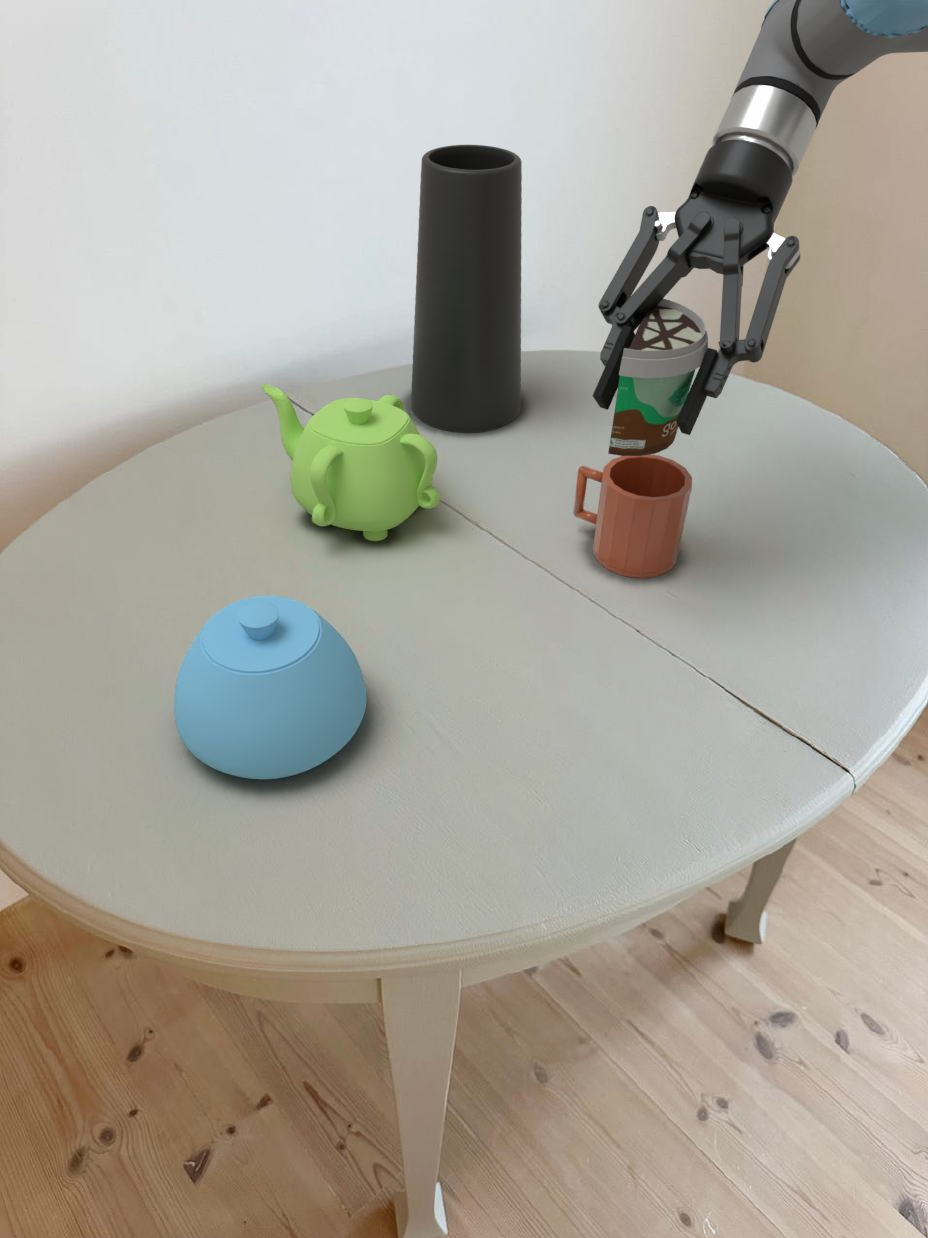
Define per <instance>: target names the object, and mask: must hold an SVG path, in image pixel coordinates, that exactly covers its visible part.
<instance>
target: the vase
mask: <svg viewBox="0 0 928 1238" xmlns="http://www.w3.org/2000/svg"><path fill="white" fill-rule="evenodd" d="M522 164H523V163H522V159H521V157H520V155H518V154H517V153H515V152H513V151H511V150H509V149H505V148H501V147H497V146H493V145H492V146H491V145H483V144H454V145H452V144H451V145H446V146H440V147H436V148H433V149H431V150H429V151H427V152H425V153H424V154H423V156H422V157H421V166H420V167H421V168H420V185H419V207H418V231H417V251H416V252H417V253H416V276H415V295H414V297H415V299H414V300H415V301H414V302H415V303H414V304H415V305H414V318H413V319H414V322H413V323H414V325H413V346H412V364H411V365H412V366H411V367H412V369H411V371H412V372H411V373H412V374H411V395H410V405H411V410H412V413H413V415H414V416H415V417H416V418H417V419H418V420H420V421H421V422H423V423H424V424H426V425H428V426H431V427H433V428H436V429H439V430H443V431H447V432H454V433H481V432H488V431H492V430H497V429H499V428H502V427H504V426H507V425H508V424H510V423H512V422H513V421H514V420H515V419H516V418H517V417H518V416H519V414H520V412H521V401H522V399H521V398H522V397H521V394H522V393H521V392H522V388H521V387H522V382H521V381H522V226H523V224H522V222H523V221H522V213H523V211H522V210H523V209H522V202H523V201H522V200H523V199H522V192H523V191H522V190H523V188H522V183H523V182H522V181H523V180H522V179H523V175H522V171H523V170H522V167H523V166H522Z"/></svg>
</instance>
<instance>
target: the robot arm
mask: <svg viewBox="0 0 928 1238" xmlns="http://www.w3.org/2000/svg"><path fill="white" fill-rule="evenodd" d="M903 53H905V54H906V53H928V0H773V2H772V3H771V4H770V6H769V7H768V8H767V11H766V12H765V14H764V17H763V21H762V23H761V25H760V30H759V32H758V35H757V36H756V40H755V42H754V45H753V47H752V49H751V51H750V54H749V56H748V58H747V61H746V63H745V65H744V68H743V70H742V73H741V75H740V77H739V80H738V82H737V84H736V86H735V88H734V92H733V93H732V96H731V98H730V100H729V103H728V105H727V107H726V108H725V111H724V113H723V116H722V118H721V120H720V122H719V125H718V126H717V129H716V131H715V133H714V135H713V138H712V140H711V147H710V148H709V149H708V151H707V153H706V154H705V156H704V158H703V161H702V163H701V165H700V167H699V170H698V172H697V175H696V177H695V179H694V182H693V183H692V186H691V189H690V192H689V195H688V197H687V199H686V200H685V201H684V202H683V203H682V204H681V205H680V206H679V207H678V208H677V209H676V211H658V209H657V208H656V206H654V205H649V206H646V207H645V208H644V210H643V211H642V215H641V221H640V225H639V231H638V233H637V234H636V236H635V238H634V240H633V241H632V243H631V245H630V247H629V249H628V251H627V252H626V254H625V256H624V258H623V260H622V261H621V263H620V265H619V267H618V269H617V270H616V272H615V274H614V276H613V277H612V279H611V280H610V282H609V284H608V286H607V288H606V289H605V292H604V293H603V295H602V296H601V298H600V300H599V303H598V309H599V312H600V313H601V315H602V317H603V319H604V321H605V322H606V323H607V324H609V325H611V328H610V330H609V333H608V335H607V337H606V340H605V342H604V344H603V347H602V348H601V351H600V354H599V355H600V357H599V359H600V361H601V363H602V365H603V366H604V368H603V371H602V373H601V375H600V378H599V380H598V382H597V385H596V387H595V389H594V391H593V394H592V398H593V399H594V401H595V402H596V404H597V405H598V407H599V408H601V409H604V410H609V409H610V407H611V405H612V402H613V400H614V397H615V396H616V394H617V391H618V384H619V378H620V375H619V371H620V366H621V360H622V357H623V351H624V348H627V349H629V348H630V346H631V343H632V341H633V339H634V337H635V334H636V330H637V329H638V327H639V325H640V324H641V322H642V320H643V319H644V317H645V315H646V313H647V312H649V311H651V310H653V309H654V308H655V307H656V306H657V305H658V304H659V303H660V301H661V300H662V299H665V297H666V296H667V295H668V294H669V293H670V292H671V290H672V289H673V288H674V287H675V286H676V285H677V283H679V281H681V280H682V278H686V277H687V276H688V275H689V274H690V273H691V272H692V271H693V270H694V269H698V270H710V271H713V272H714V273H716V274H719V275H722V290H721V291H722V294H721V310H720V313H721V314H720V328H719V329H720V330H719V341H718V346H719V350H717V349H714V348H711V347H708V350H707V352H706V354H705V356H704V359H703V361H702V363H701V366H700V367H699V368H698V370H697V372H696V375H695V376H694V378H693V381H692V383H691V386H690V390H689V393H688V395H687V398H686V400H685V402H684V404H683V407H682V409H681V411H680V414H679V416H678V418H677V420H676V423H677V425H678V430H680V433H681V434H684V435H688V436H691V435H692V432H693V430H694V428H695V425H696V422H697V420H698V418H699V416H700V413H701V411H702V409H703V407H704V404H705V402H706V400H707V397H710V398H713V399H717V398H718V397H719V396H720V395H721V394H722V393H723V390H724V387H725V385H726V382H727V380H728V378H729V377H730V374H731V372H732V369H733V367H734V366H735V365H736V364H737V363H739V362H745V361H747V362H750V363H758V362H759V361H761V359H762V358H763V355H764V352H765V348H766V345H767V342H768V339H769V335H770V332H771V329H772V326H773V323H774V319H775V317H776V313H777V311H778V306H779V304H780V300H781V297H782V293H783V291H784V287H785V284H786V281H787V278H788V277H789V276H790V275H791V273H792V271H793V270H794V269H795V267H796V266H797V265H798V263H799V262H800V260H801V250H800V249H801V248H800V240H799V238H798V237H797V236H795V235H788V236H787V237H784V236H782V235H780V234H777V233H775V229H774V227H775V223H776V221H777V219H778V216H779V215H780V212H781V210H782V207H783V205H784V203H785V201H786V198H787V196H788V194H789V190H790V189H791V187H792V184H793V177H794V176H795V175H796V174H797V172H798V170H799V168H800V165H801V163H802V161H803V159H804V157H805V155H806V152H807V150H808V147H809V146H810V143H811V141H812V140H813V139H812V138H813V137H814V134H815V132H816V130H817V127H818V125H819V122H820V120H821V118H822V115H823V113H824V111H825V110H826V107H827V105H828V103H829V100H830V98H831V96H832V94H833V92H834V91H835V89H836V88H837V87H838V85H840V84H841V83H843V82H844V81H846V80H848V79H849V78H851V77H853V76H854V75H856V74H857V73H859V72H860V71H861V70H863V69H865V68H867V66H869V65H871V64H872V63H873V62H875V61H877V60H878V59H879V58H881V57H883V56H887V55H890V54H903ZM674 229H676V233H677V236H678V238H677V239H676V240H675V241H674V242H673V244H672V245H671V246H670V247H669V249H668V250H667V254H666V255H665V257H664V258H663V259H662V260H661V262H660V263H659V264H658V265H657V266H656V267H655V268H654V269H653V270H652V271H651V273H650V274H649V275H648V276H647V278H646V279H644V281H643V282H642V283H641V284H640V286H639V282H640V281H641V279H642V277H643V276H644V274H645V272H646V271H647V269H648V267H649V265H650V263H651V262H652V260H653V258H654V256H655V254H656V253H657V250H658V247H659V245H660V242H664V241H665V240H666V239H667V236H668V235H669V233H670V232H671V231H672V230H674ZM766 250H768V252H767V261H768V265H767V268H766V271H765V275H764V278H763V281H762V284H761V287H760V291H759V294H758V297H757V301H756V303H755V306H754V310H753V312H752V316H751V320H750V323H749V325H748V328H747V329H748V330H747V332H746V335H745V338H743V339H740V330H741V329H740V328H741V309H742V290H743V289H742V288H743V285H744V270H745V269H744V267H745V265H746V264H747V263H749V262H750V261H752V260H753V259H755V258H756V257H757V256H758V255H760V254H761V253H764V251H766ZM637 286H639V287H638V288H637ZM636 288H637V289H636Z"/></svg>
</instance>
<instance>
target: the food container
mask: <svg viewBox="0 0 928 1238" xmlns="http://www.w3.org/2000/svg"><path fill="white" fill-rule="evenodd" d="M708 348H709V335H708V331H707V327H706V323H705V321H704V320H703V318H702V316H700V315H699V314H698V313H697V312H696V311H694V310H693V309H690V308H689V307H687V306H685V305H682V304H680V303H678V302H676V301H673V300H670V299H667V298H663V299H662V300H661V301H660V303H659V304H658V305H657V306H656V307H655V308H654V309H653V310H651V311H649V312H647V313H646V315H645V317H644V319H643V320H642V322H641V324H640V325H639V326H638V327H637V328H636V331H635V337H634V339H633V341H632V343H631V346H630V348H629V349H627V348H624V351H623V357H622V360H621V366H620V371H619V375H620V378H619V384H618V388H617V391H616V398H615V405H614V410H613V411H614V413H613V419H612V425H611V432H610V439H609V446H608V451H607V452H608V453H607V454H609V455H613V456H618V457H620V456H644V455H650V454H651V455H656V454H657V453H660V452H662V451H665V450H667V449H668V448H670V446H672V444H674V441H675V440H676V436H677V433H678V430H679V427H678V425H677V423H676V420H677V418H678V416H679V414H680V411H681V409H682V407H683V404H684V402H685V400H686V398H687V395H688V393H689V391H690V388H691V386H692V384H693V380H694V377H695V372H696V370H697V369H699V368H700V366H701V363H702V361H703V359H704V356H705V354H706V352H707V350H708Z"/></svg>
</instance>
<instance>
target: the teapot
mask: <svg viewBox="0 0 928 1238" xmlns="http://www.w3.org/2000/svg"><path fill="white" fill-rule="evenodd" d="M260 389H261V390H262V391H263V392H264V393H265V394H266V395H267V396H268V397H269V398H270V400H271V401H272V403H273V404H274V406H275V408H276V411H277V415H278V420H279V430H280V437H281V442H282V447H283V448H284V451H285V453H286V455H287V456H288V458H289V459H290V460H291V461H292V462H291V467H290V489H291V493H292V495H293V498H294V499H295V501H297V503H298V504H299V505H300V507H302V508H303V510H305V511H306V512H307V513H308V514H310V515H311V522H312V523H313V524H314V525H316V526H319V527H328V526H330V525H331V526H334V527H337V528H341V529H346V530H352V531H360V532H362V536H363V537H364V539H366V540H367V541H371V542H380V541H383V540H384V539H386V538H387V537H388V535H389V533H388V530H391V529H394V528H395V527H397V526H399V525H401V524H402V523H403V522H405V521H406V520H407V519H408V518H409V517H410V516H411V515H412V514H413V513H414V512H415V511H416V510H417V509H418V508H419V507H421V508H423V509H433V508H435V507H437V506H438V505H439V502H440V500H441V494H440V491H438V489H437V488H435V487H433V486H432V484H433V476H434V474H435V471H436V468H437V464H438V453H437V450H436V447H435V446H434V445H433V443H432V442H431V441H430V440H429V439H427V438H426V437H424V436H423V435H421V433H420V431H419V430H418V428H417V426H416V424H415V422H414V421H413V420H412V417H410V415H409V414H408V413H407V412H406V411H405V408H404V407H405V406H404V402H403V400H402V399H401V397H399V396H397V395H393V394H384V395H383V396H381V397H380V398H379V399H378V400H374V399H367V398H365V397H363V398H362V397H345V398H344V397H343V398H339V399H335V400H333V401H331V402H329V403H328V404H326V405H324V406H323V407H322V408H320V409H319V410H318V411H317V412H316V413H315V414H314V415H313V416H311V418H310V419H309V420H308V421H307V423H306V425H305V427H303V425H302V424H301V421H300V420H299V418H298V415H297V413H296V410H295V407H294V404H293V403H292V401H291V399H290V398H289V396H288V395H287V394H286V393H285V392H284V391H283V390H281V389H279V388H277V387H275V386H273V385H270V384H261V385H260Z"/></svg>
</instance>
